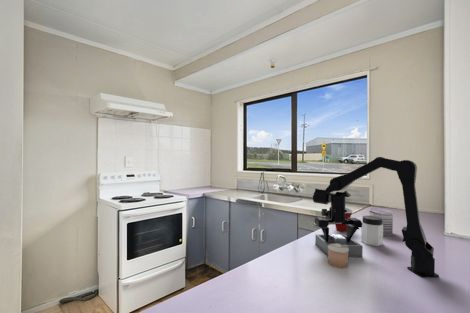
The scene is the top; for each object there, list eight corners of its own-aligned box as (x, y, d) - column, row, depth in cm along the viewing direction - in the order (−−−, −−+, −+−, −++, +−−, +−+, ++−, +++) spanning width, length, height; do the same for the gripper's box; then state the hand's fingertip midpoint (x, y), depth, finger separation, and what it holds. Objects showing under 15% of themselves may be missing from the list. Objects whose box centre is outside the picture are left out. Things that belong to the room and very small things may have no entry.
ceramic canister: (352, 268, 86) (352, 247, 86) (332, 268, 86) (333, 247, 86) (342, 259, 93) (342, 240, 93) (324, 259, 93) (324, 240, 93)
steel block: (345, 250, 100) (346, 238, 100) (334, 250, 100) (334, 238, 100) (340, 245, 105) (340, 234, 105) (329, 245, 105) (329, 234, 105)
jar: (376, 247, 107) (376, 220, 107) (358, 241, 113) (358, 216, 113) (385, 243, 111) (386, 218, 112) (368, 238, 118) (368, 214, 118)
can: (384, 229, 135) (384, 208, 135) (398, 235, 124) (398, 212, 124) (364, 229, 135) (364, 207, 135) (377, 235, 123) (377, 212, 123)
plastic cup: (340, 234, 125) (340, 211, 125) (327, 228, 135) (327, 207, 135) (357, 232, 127) (357, 210, 127) (343, 226, 138) (343, 206, 138)
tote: (362, 256, 96) (362, 245, 96) (328, 256, 95) (328, 245, 95) (345, 244, 110) (345, 234, 110) (315, 244, 109) (315, 234, 109)
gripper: (349, 202, 111) (349, 236, 111) (310, 202, 110) (309, 235, 110) (363, 207, 100) (362, 244, 100) (319, 207, 99) (319, 244, 99)
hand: (337, 242), depth 103 cm, fingers open, 9 cm apart
